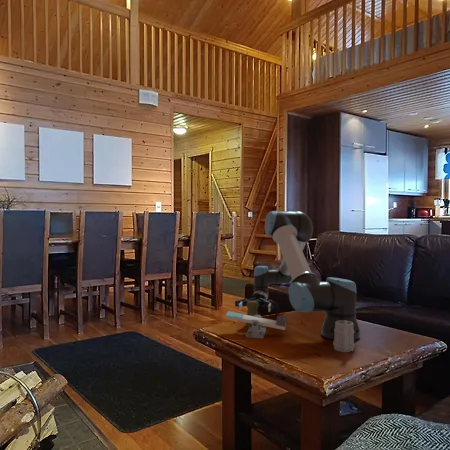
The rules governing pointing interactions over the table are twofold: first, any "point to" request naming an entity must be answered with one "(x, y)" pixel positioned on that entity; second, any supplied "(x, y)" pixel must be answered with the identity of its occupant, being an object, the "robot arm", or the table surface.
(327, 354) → the table surface
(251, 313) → the cork
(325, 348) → the table surface
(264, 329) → the stand
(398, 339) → the table surface
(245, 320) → the beam
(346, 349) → the mug
